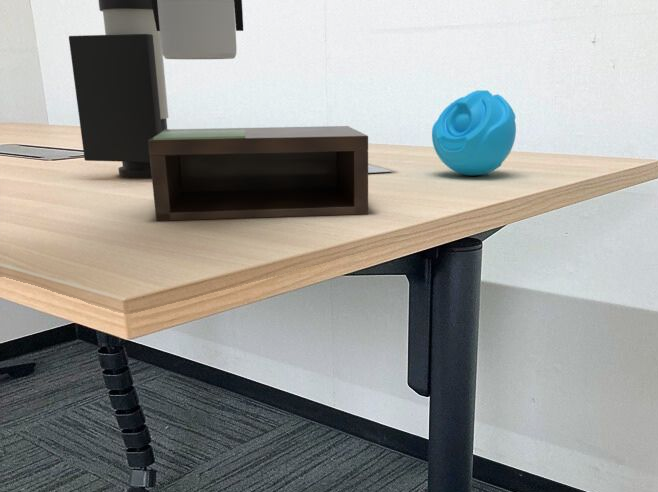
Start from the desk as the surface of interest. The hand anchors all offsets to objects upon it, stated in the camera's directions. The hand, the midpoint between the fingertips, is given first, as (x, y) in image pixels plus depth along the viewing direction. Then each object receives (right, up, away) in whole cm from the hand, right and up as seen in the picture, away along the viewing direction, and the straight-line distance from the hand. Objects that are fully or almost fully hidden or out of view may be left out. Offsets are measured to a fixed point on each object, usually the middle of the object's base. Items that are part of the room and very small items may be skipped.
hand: (200, 21), depth 76 cm
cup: (0, -5, -2) cm, 5 cm away
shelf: (+5, -17, +9) cm, 20 cm away
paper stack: (+6, -4, +43) cm, 44 cm away
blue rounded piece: (+33, -8, +32) cm, 47 cm away
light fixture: (-16, -8, +35) cm, 39 cm away
